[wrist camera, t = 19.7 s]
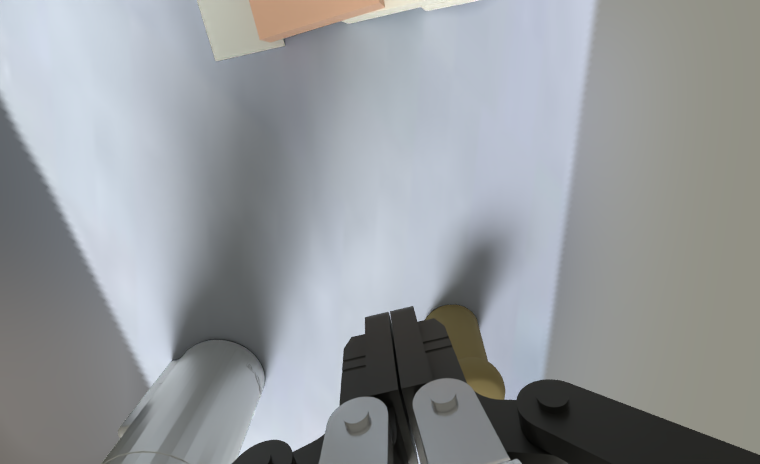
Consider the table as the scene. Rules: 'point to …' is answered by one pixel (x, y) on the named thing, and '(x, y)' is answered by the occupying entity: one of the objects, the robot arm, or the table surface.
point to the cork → (470, 350)
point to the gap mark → (232, 29)
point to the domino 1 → (304, 15)
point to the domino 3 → (446, 4)
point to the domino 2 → (393, 8)
